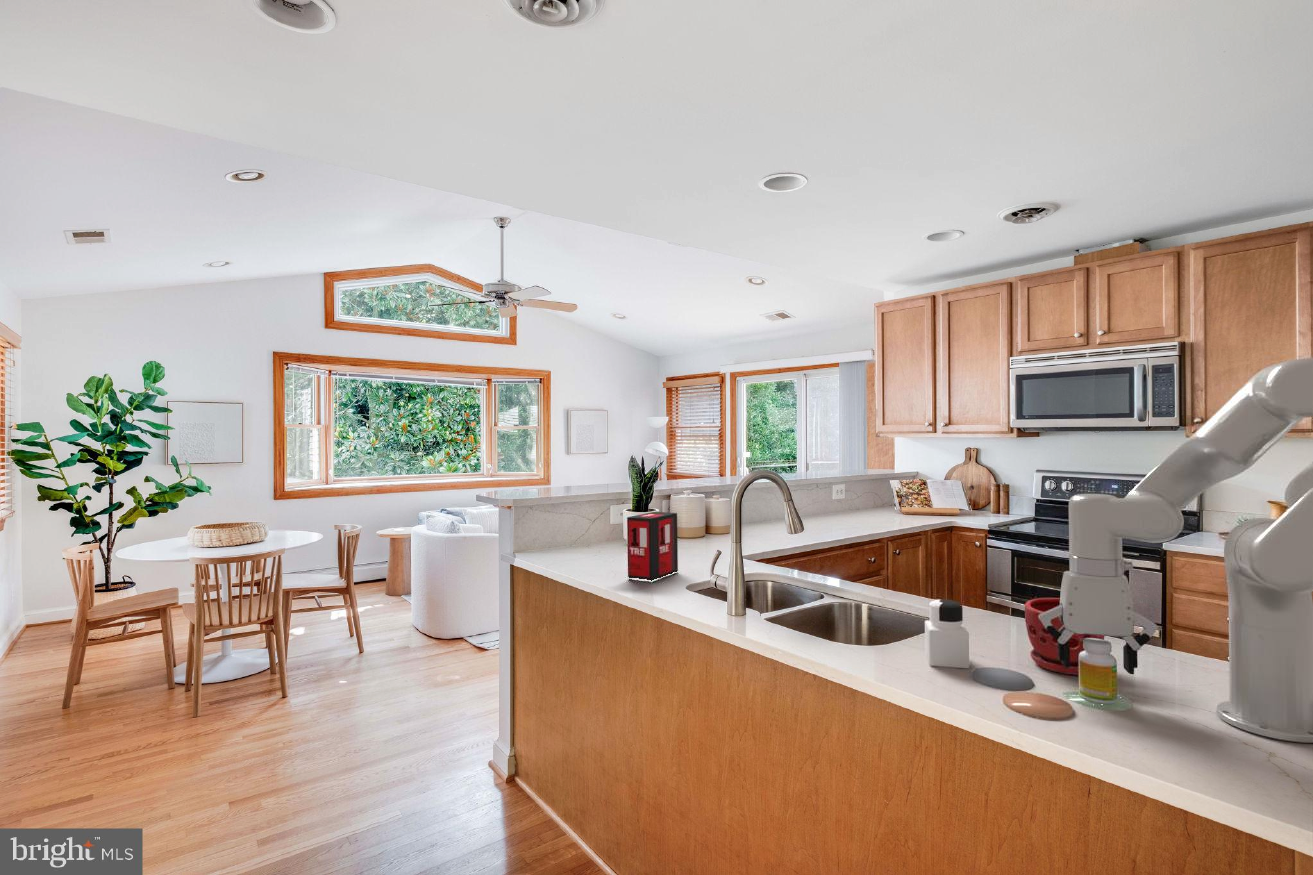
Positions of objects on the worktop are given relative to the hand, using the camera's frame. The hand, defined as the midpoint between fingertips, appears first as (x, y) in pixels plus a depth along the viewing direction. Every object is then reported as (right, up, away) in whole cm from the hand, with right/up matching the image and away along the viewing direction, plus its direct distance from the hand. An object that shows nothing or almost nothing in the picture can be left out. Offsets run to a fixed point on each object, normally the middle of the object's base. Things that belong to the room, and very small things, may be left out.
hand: (1096, 667), depth 111 cm
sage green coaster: (0, -6, 0) cm, 6 cm away
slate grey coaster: (-11, -6, +9) cm, 16 cm away
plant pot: (+4, -5, +15) cm, 16 cm away
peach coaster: (-12, -6, -3) cm, 13 cm away
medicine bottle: (-17, -6, +19) cm, 26 cm away
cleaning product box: (-76, -6, +101) cm, 127 cm away
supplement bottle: (0, -5, 0) cm, 5 cm away
